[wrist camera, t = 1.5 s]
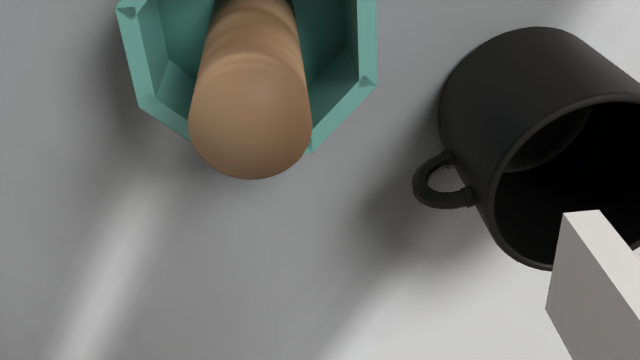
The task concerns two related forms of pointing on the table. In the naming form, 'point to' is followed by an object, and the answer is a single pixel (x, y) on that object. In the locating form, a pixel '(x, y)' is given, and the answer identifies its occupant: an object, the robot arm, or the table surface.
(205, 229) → the table surface
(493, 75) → the mug
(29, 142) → the table surface
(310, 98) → the teal octagonal bowl
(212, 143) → the dowel
